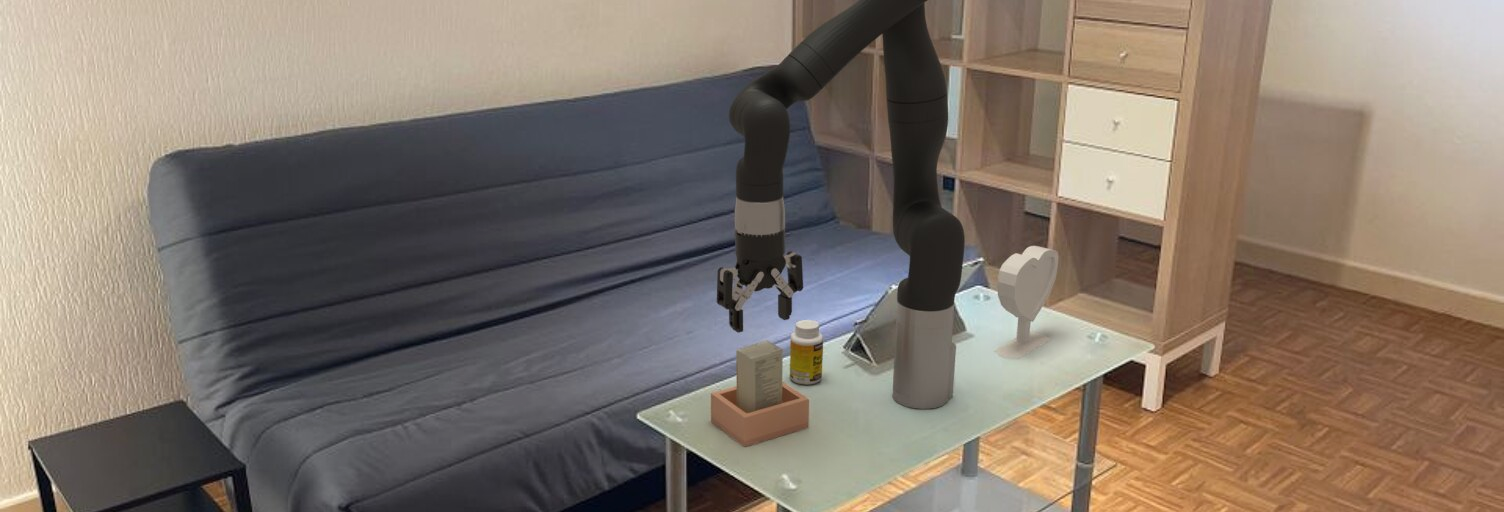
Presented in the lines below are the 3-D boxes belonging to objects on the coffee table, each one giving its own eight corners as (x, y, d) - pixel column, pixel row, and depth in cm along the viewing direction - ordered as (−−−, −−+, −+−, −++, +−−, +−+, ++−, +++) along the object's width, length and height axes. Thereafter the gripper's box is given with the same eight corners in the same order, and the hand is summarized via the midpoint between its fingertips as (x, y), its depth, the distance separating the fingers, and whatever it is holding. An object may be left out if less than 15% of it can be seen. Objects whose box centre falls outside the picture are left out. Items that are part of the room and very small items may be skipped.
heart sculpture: (1012, 362, 220) (1020, 266, 214) (988, 354, 223) (995, 260, 217) (1055, 336, 231) (1063, 245, 225) (1031, 329, 234) (1039, 239, 228)
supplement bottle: (815, 388, 210) (816, 332, 206) (784, 382, 212) (785, 327, 208) (826, 375, 215) (828, 320, 211) (796, 369, 217) (797, 315, 213)
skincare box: (766, 408, 200) (767, 339, 196) (783, 419, 197) (784, 348, 193) (734, 419, 197) (734, 348, 193) (751, 429, 193) (751, 358, 189)
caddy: (773, 403, 204) (773, 376, 202) (808, 427, 196) (809, 399, 195) (710, 421, 198) (710, 393, 196) (744, 447, 190) (744, 417, 188)
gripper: (785, 210, 192) (785, 307, 198) (706, 226, 185) (708, 326, 191) (813, 222, 186) (812, 322, 192) (732, 240, 179) (734, 343, 185)
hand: (760, 324), depth 191 cm, fingers open, 8 cm apart
